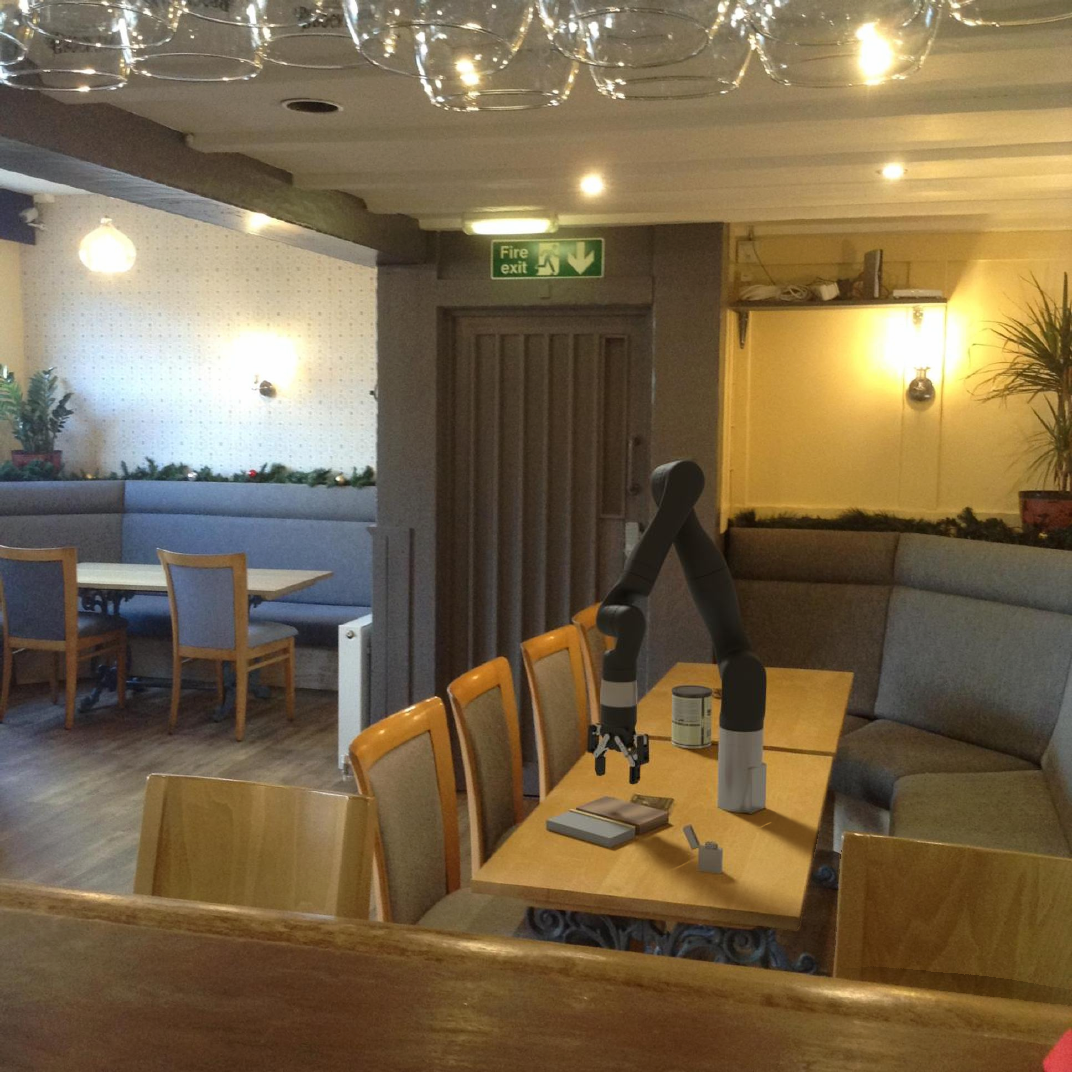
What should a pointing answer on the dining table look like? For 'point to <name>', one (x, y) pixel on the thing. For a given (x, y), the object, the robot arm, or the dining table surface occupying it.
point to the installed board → (591, 828)
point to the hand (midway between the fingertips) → (617, 779)
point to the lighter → (705, 852)
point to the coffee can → (691, 716)
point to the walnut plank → (626, 813)
